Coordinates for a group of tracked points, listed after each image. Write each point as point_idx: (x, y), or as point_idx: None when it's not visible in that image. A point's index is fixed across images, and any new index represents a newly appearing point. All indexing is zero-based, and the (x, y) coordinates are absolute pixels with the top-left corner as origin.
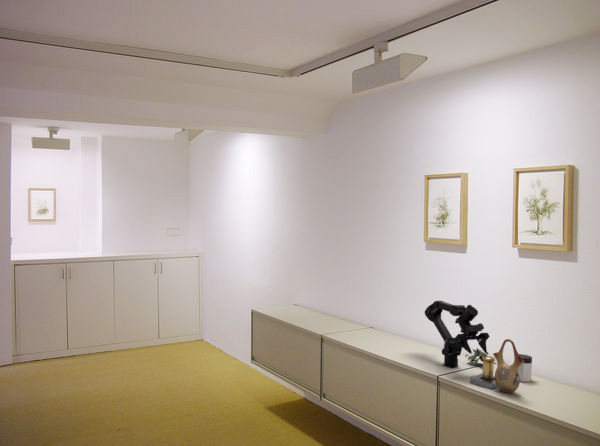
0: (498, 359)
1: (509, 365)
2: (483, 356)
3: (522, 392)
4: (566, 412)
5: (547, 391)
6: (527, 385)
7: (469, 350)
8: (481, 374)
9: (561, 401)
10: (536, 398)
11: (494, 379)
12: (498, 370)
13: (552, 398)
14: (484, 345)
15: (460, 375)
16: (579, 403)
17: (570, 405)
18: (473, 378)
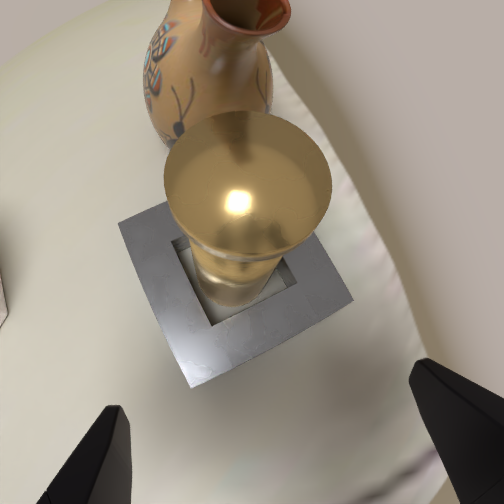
0: (255, 21)
1: (189, 20)
2: (293, 229)
3: (130, 126)
4: (154, 7)
5: (18, 135)
6: (19, 212)
7: (455, 382)
8: (217, 367)
9: (77, 56)
10: (135, 73)
11: (177, 257)
12: (269, 62)
13: (76, 74)
14: (85, 499)
15: (321, 458)
16: (46, 51)
17: (87, 36)
18: (338, 280)
